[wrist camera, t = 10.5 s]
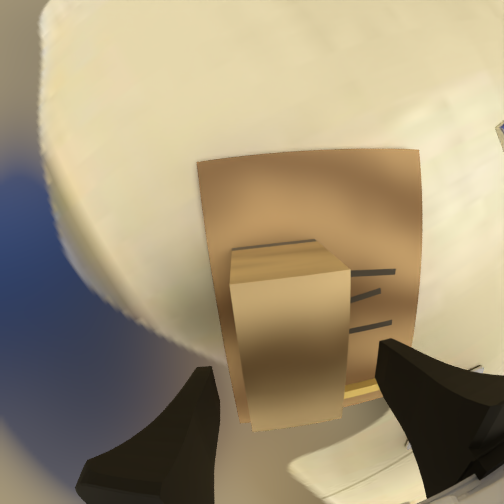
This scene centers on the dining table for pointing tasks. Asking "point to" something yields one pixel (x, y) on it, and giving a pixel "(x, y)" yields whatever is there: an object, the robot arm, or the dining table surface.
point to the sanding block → (291, 331)
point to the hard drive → (501, 133)
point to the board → (323, 237)
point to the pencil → (360, 388)
